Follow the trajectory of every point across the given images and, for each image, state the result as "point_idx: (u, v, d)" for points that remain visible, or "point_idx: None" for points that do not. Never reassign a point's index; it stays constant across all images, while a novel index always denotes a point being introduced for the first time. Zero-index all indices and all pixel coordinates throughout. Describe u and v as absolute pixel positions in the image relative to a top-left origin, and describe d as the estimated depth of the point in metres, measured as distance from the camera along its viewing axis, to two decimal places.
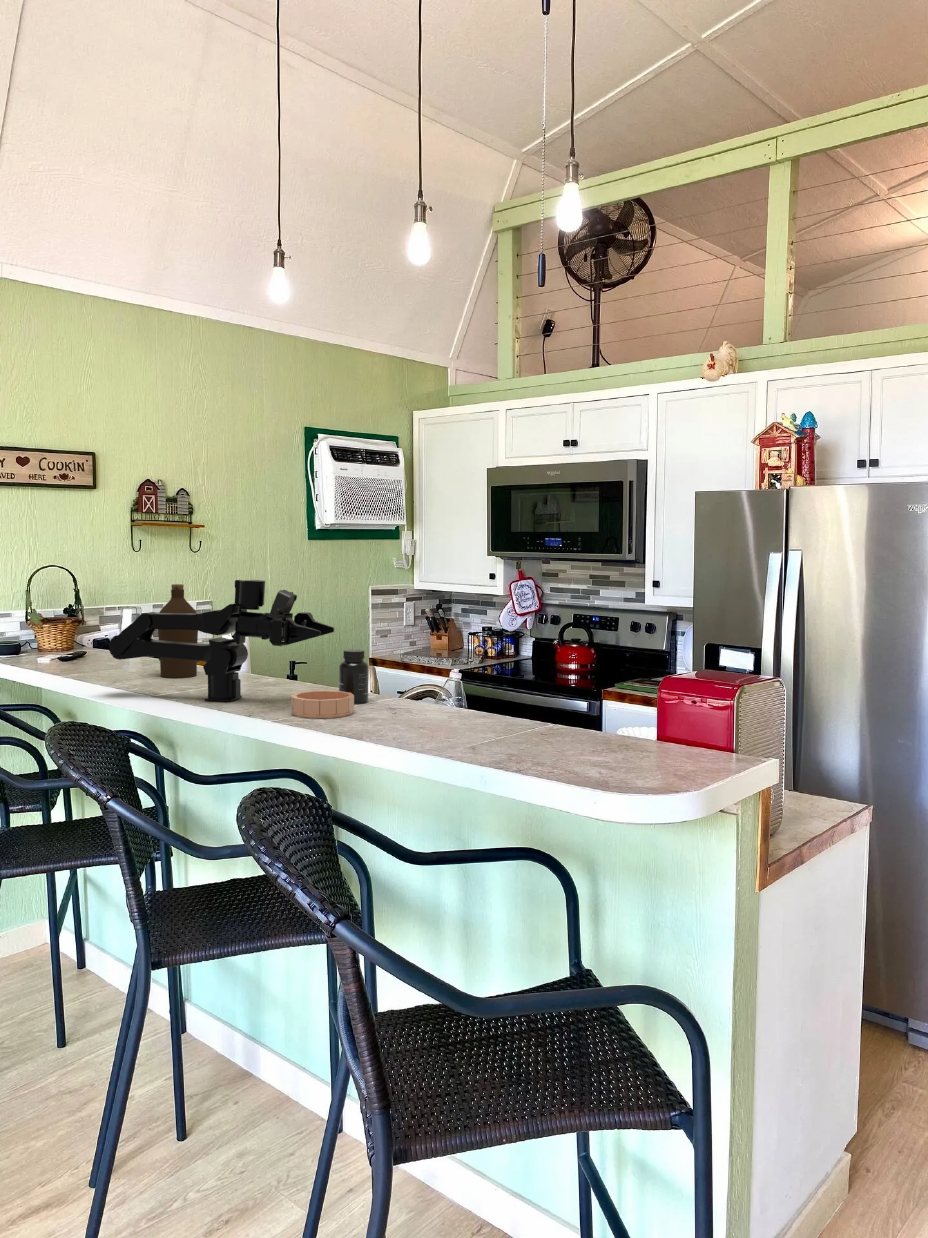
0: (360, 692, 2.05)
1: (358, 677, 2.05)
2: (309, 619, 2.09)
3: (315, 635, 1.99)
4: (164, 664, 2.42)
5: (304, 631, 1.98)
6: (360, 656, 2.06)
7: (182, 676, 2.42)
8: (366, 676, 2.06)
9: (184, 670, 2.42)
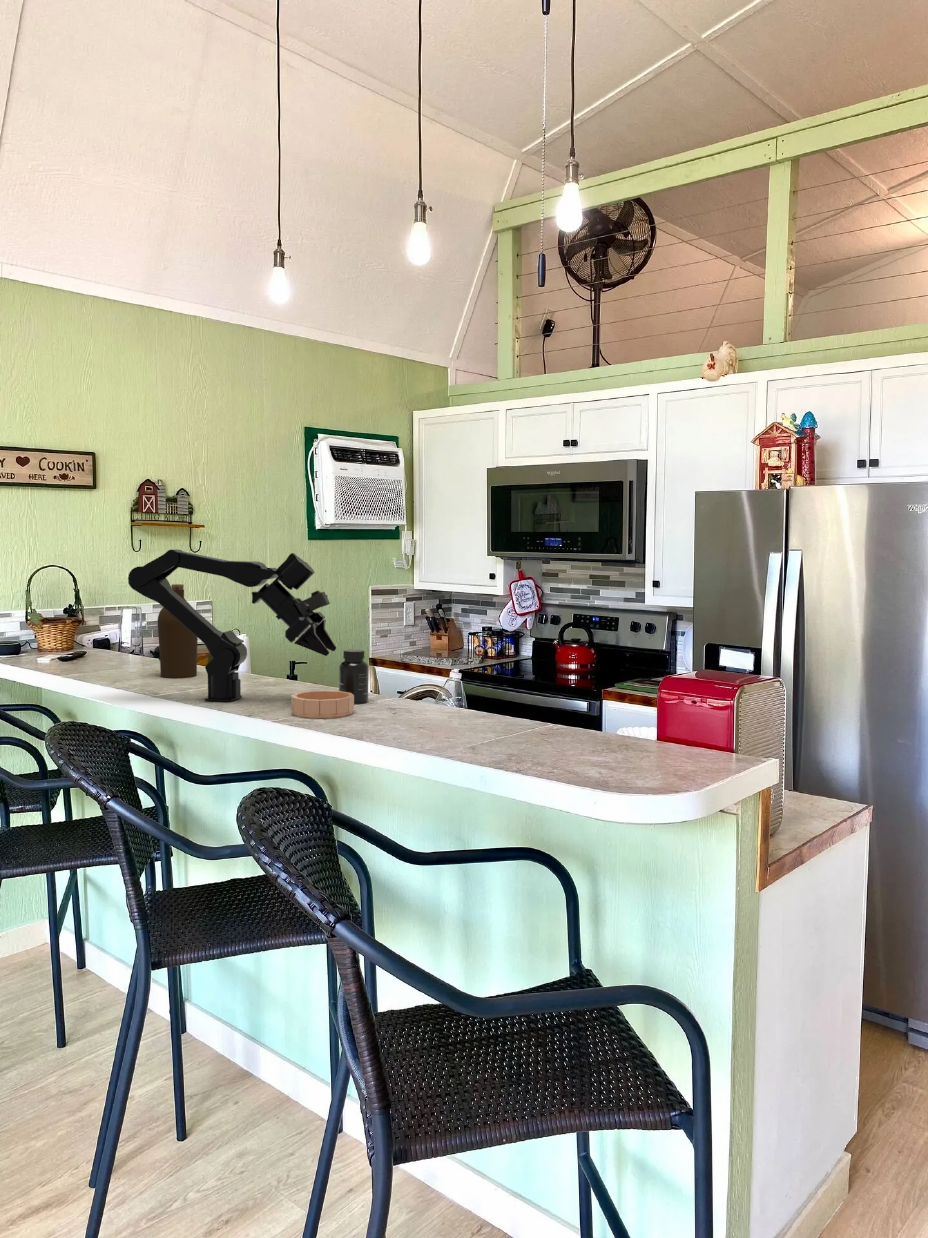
0: (360, 692, 2.05)
1: (358, 677, 2.05)
2: (322, 625, 2.12)
3: (323, 653, 2.02)
4: (164, 664, 2.42)
5: (317, 644, 2.02)
6: (360, 656, 2.06)
7: (182, 676, 2.42)
8: (366, 676, 2.06)
9: (184, 670, 2.42)
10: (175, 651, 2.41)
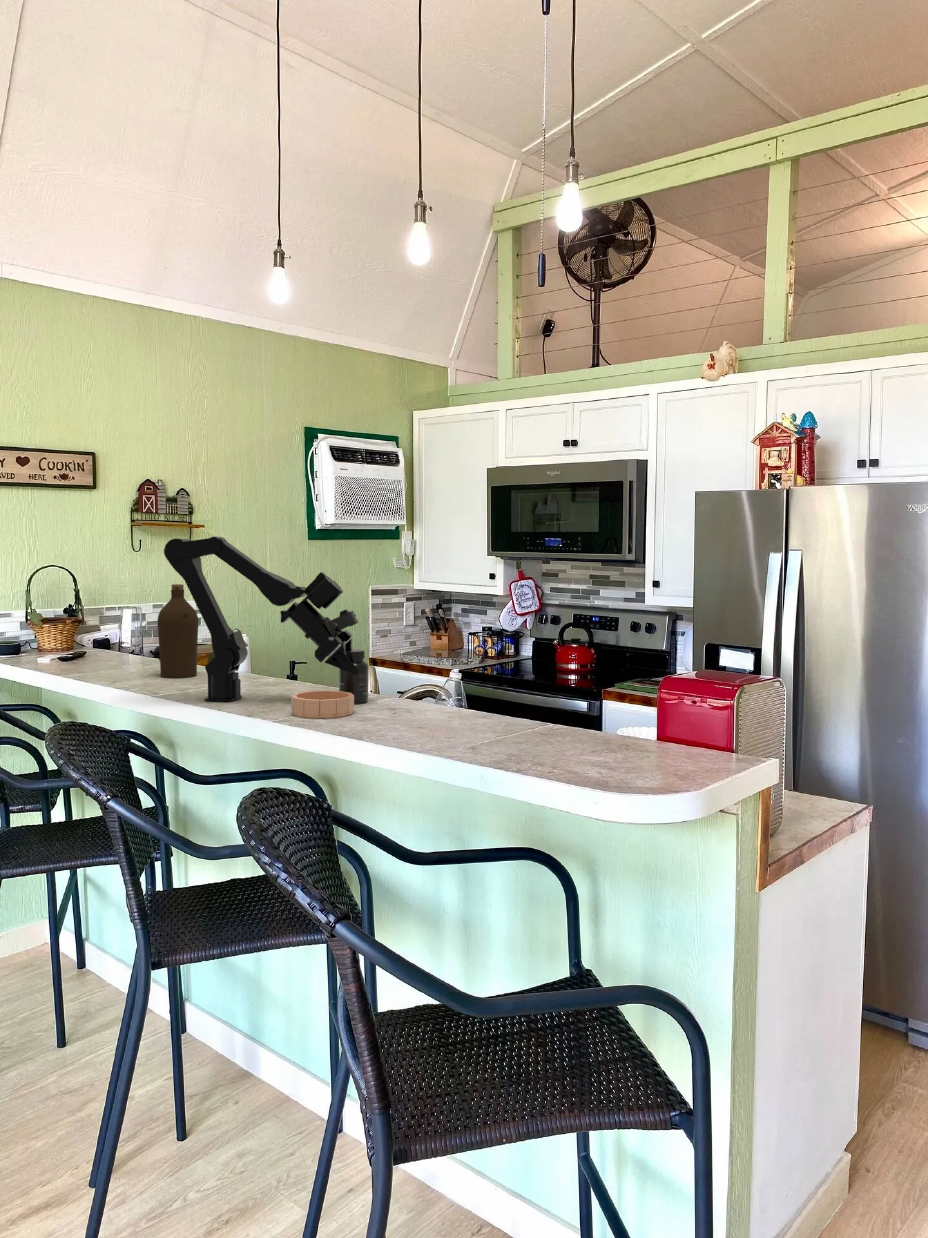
0: (360, 692, 2.05)
1: (358, 677, 2.05)
2: (349, 644, 2.11)
3: (352, 672, 2.04)
4: (164, 664, 2.42)
5: (347, 663, 2.03)
6: (360, 656, 2.06)
7: (182, 676, 2.42)
8: (366, 676, 2.06)
9: (184, 670, 2.42)
10: (175, 651, 2.41)
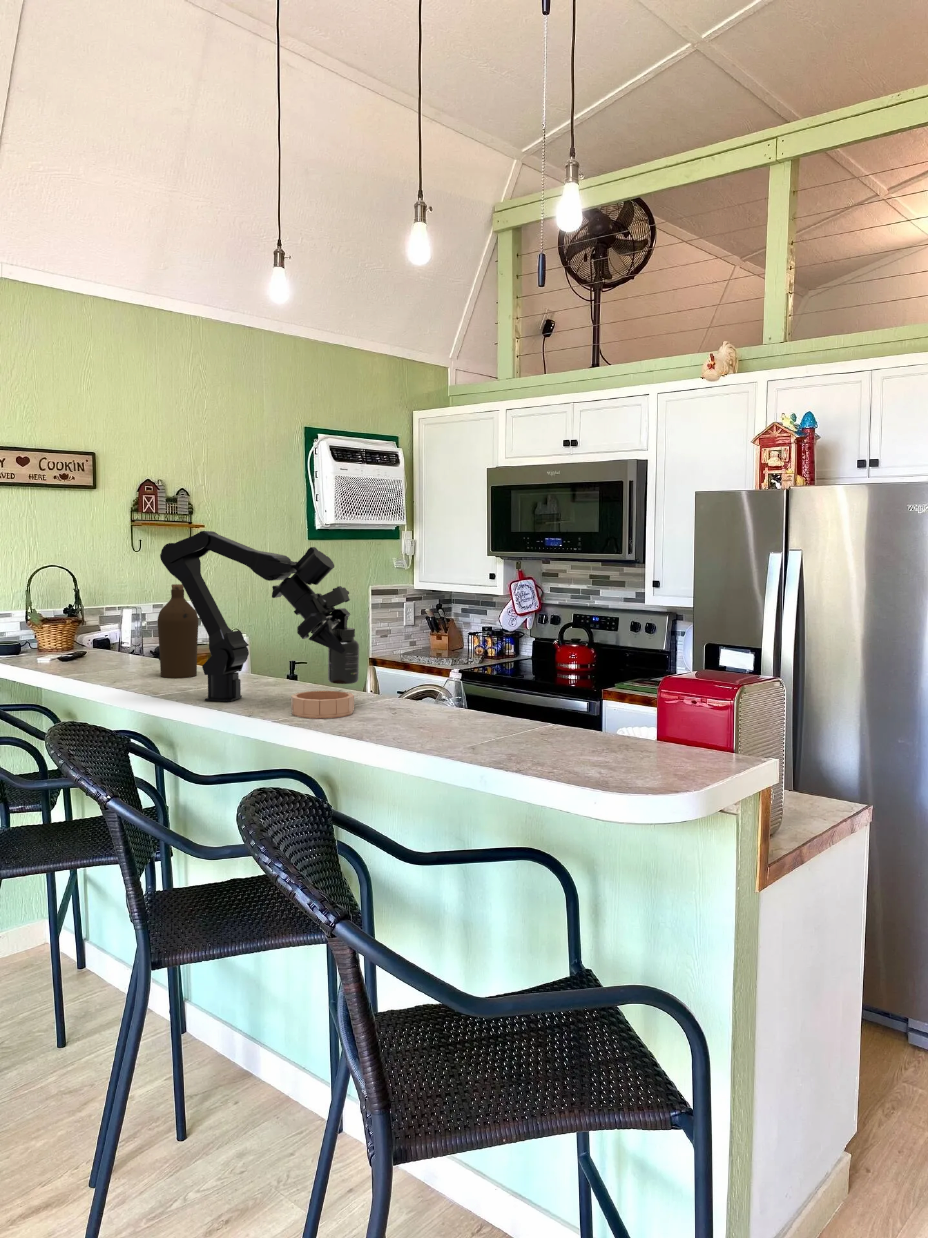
0: (347, 672, 1.98)
1: (346, 656, 1.97)
2: (342, 623, 2.04)
3: (338, 650, 1.96)
4: (164, 664, 2.42)
5: (332, 641, 1.96)
6: (349, 634, 1.98)
7: (182, 676, 2.42)
8: (355, 655, 1.99)
9: (184, 670, 2.42)
10: (175, 651, 2.41)
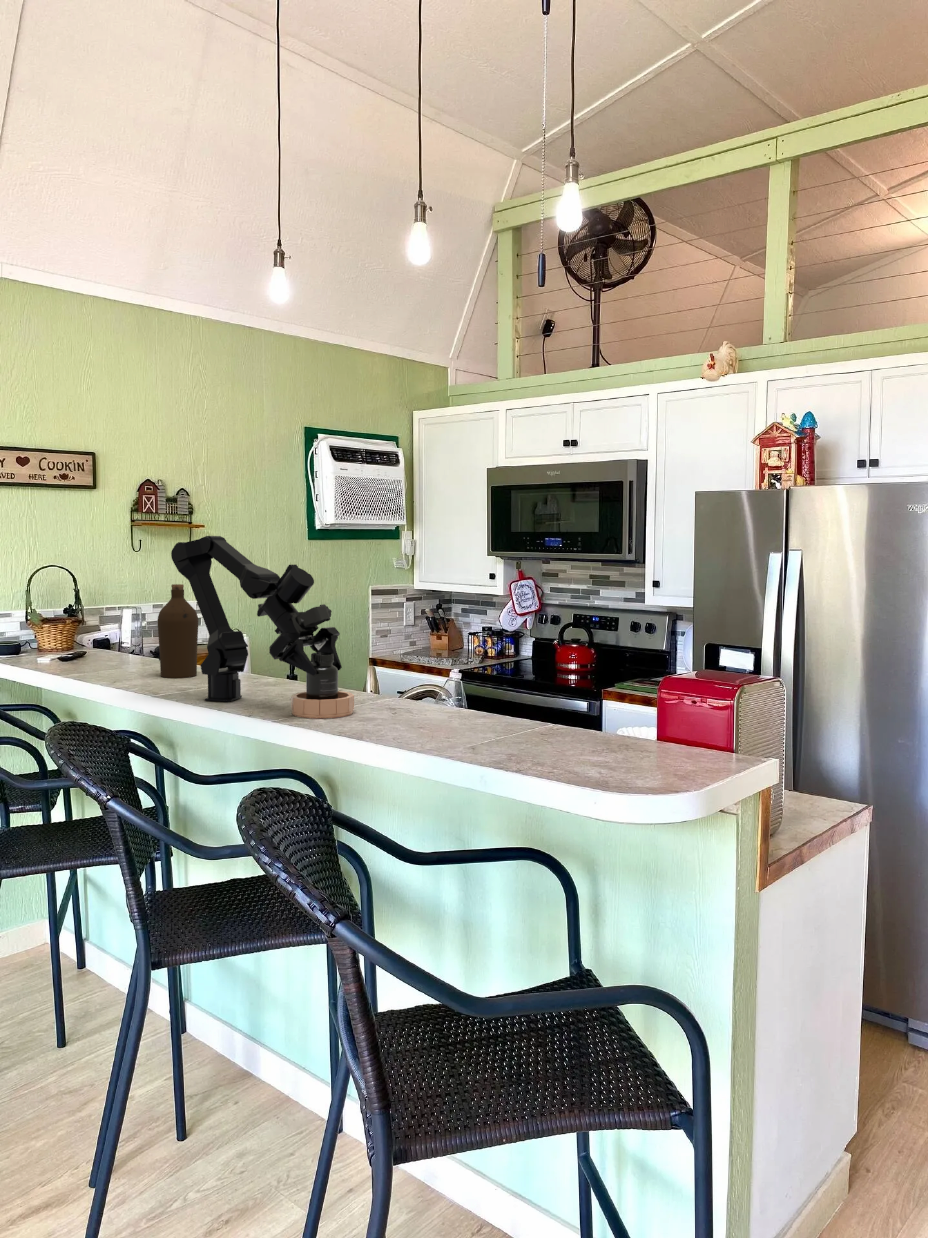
0: (322, 699, 1.91)
1: (320, 683, 1.90)
2: (329, 642, 1.98)
3: (310, 672, 1.89)
4: (164, 664, 2.42)
5: (303, 662, 1.88)
6: (324, 660, 1.91)
7: (182, 676, 2.42)
8: (330, 682, 1.91)
9: (184, 670, 2.42)
10: (175, 651, 2.41)
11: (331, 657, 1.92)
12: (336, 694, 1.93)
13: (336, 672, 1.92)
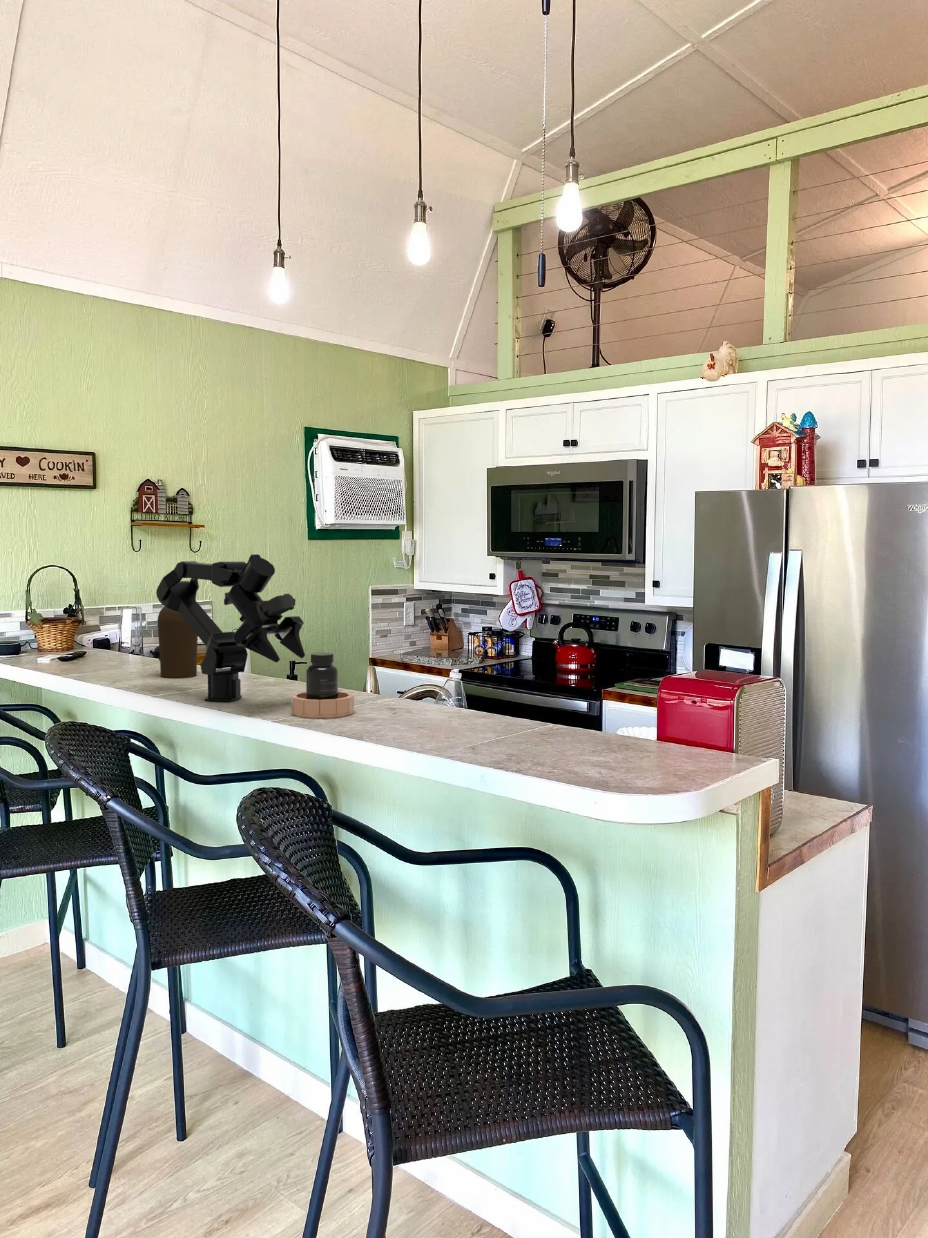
0: (322, 699, 1.91)
1: (320, 683, 1.90)
2: (293, 630, 2.02)
3: (273, 659, 1.93)
4: (164, 664, 2.42)
5: (267, 649, 1.93)
6: (324, 660, 1.91)
7: (182, 676, 2.42)
8: (330, 682, 1.91)
9: (184, 670, 2.42)
10: (175, 651, 2.41)
11: (331, 657, 1.92)
12: (336, 694, 1.93)
13: (336, 672, 1.92)
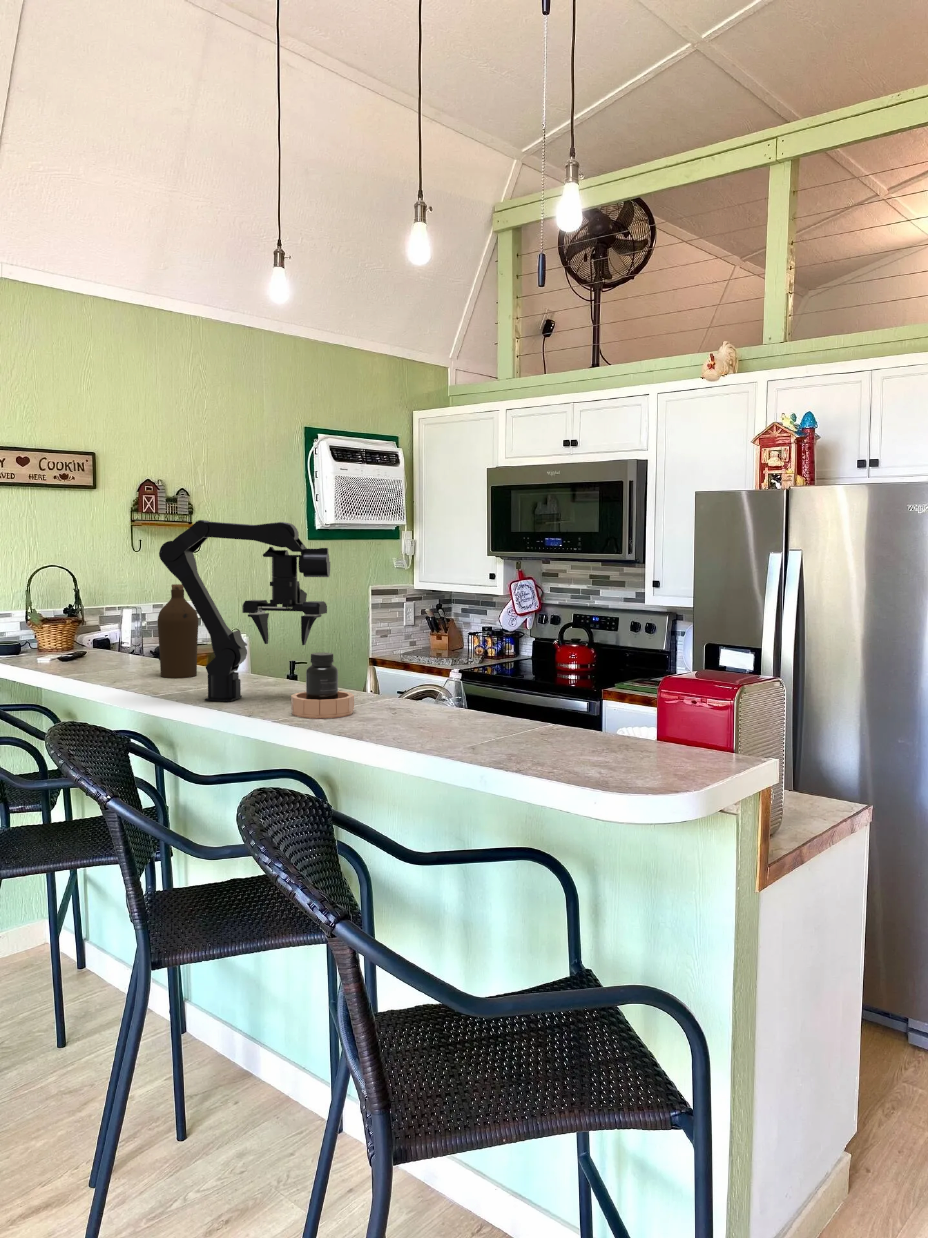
0: (322, 699, 1.91)
1: (320, 683, 1.90)
2: (267, 616, 2.11)
3: (304, 641, 2.07)
4: (164, 664, 2.42)
5: (308, 630, 2.07)
6: (324, 660, 1.91)
7: (182, 676, 2.42)
8: (330, 682, 1.91)
9: (184, 670, 2.42)
10: (175, 651, 2.41)
11: (331, 657, 1.92)
12: (336, 694, 1.93)
13: (336, 672, 1.92)
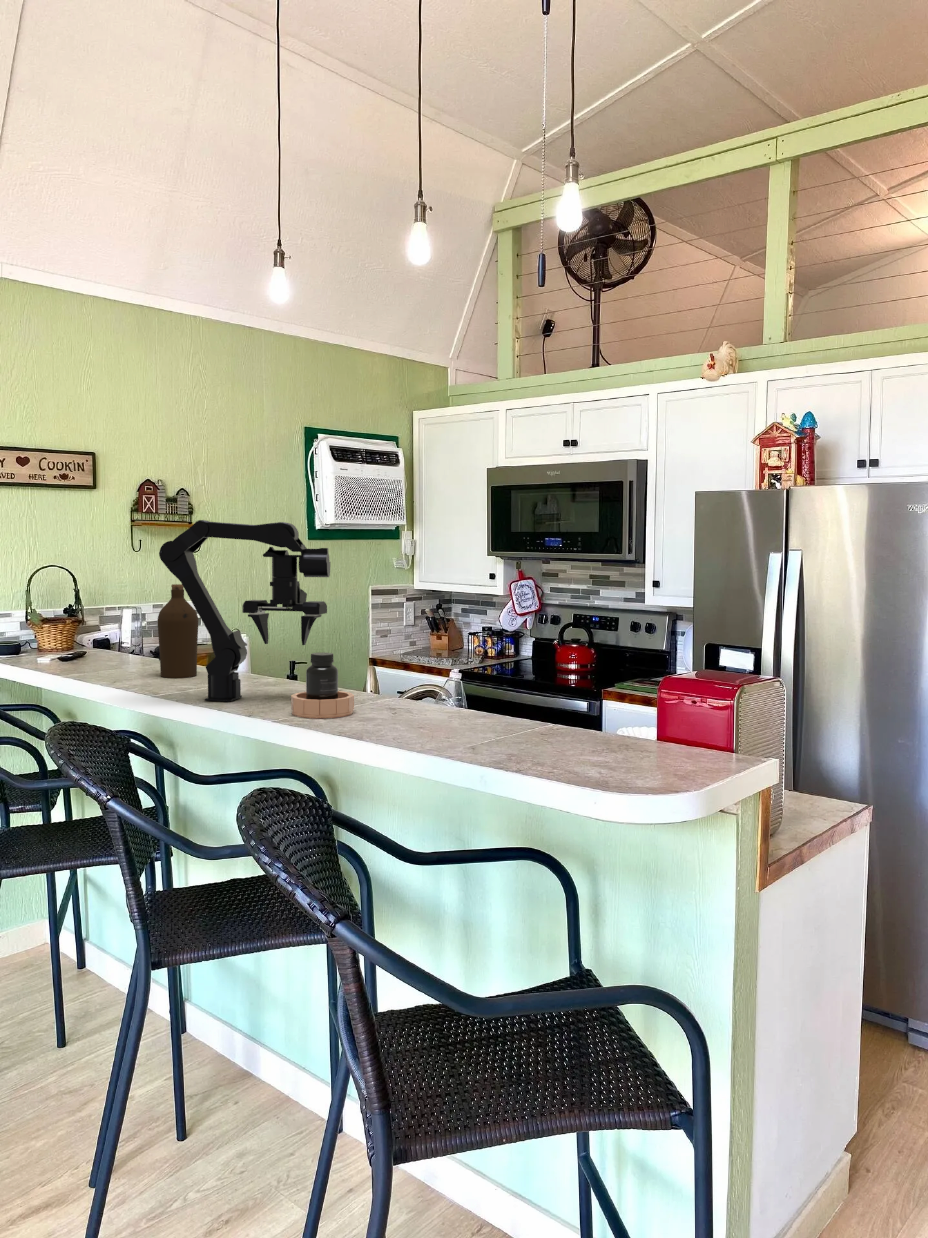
0: (322, 699, 1.91)
1: (320, 683, 1.90)
2: (267, 616, 2.11)
3: (304, 641, 2.07)
4: (164, 664, 2.42)
5: (308, 631, 2.07)
6: (324, 660, 1.91)
7: (182, 676, 2.42)
8: (330, 682, 1.91)
9: (184, 670, 2.42)
10: (175, 651, 2.41)
11: (331, 657, 1.92)
12: (336, 694, 1.93)
13: (336, 672, 1.92)
